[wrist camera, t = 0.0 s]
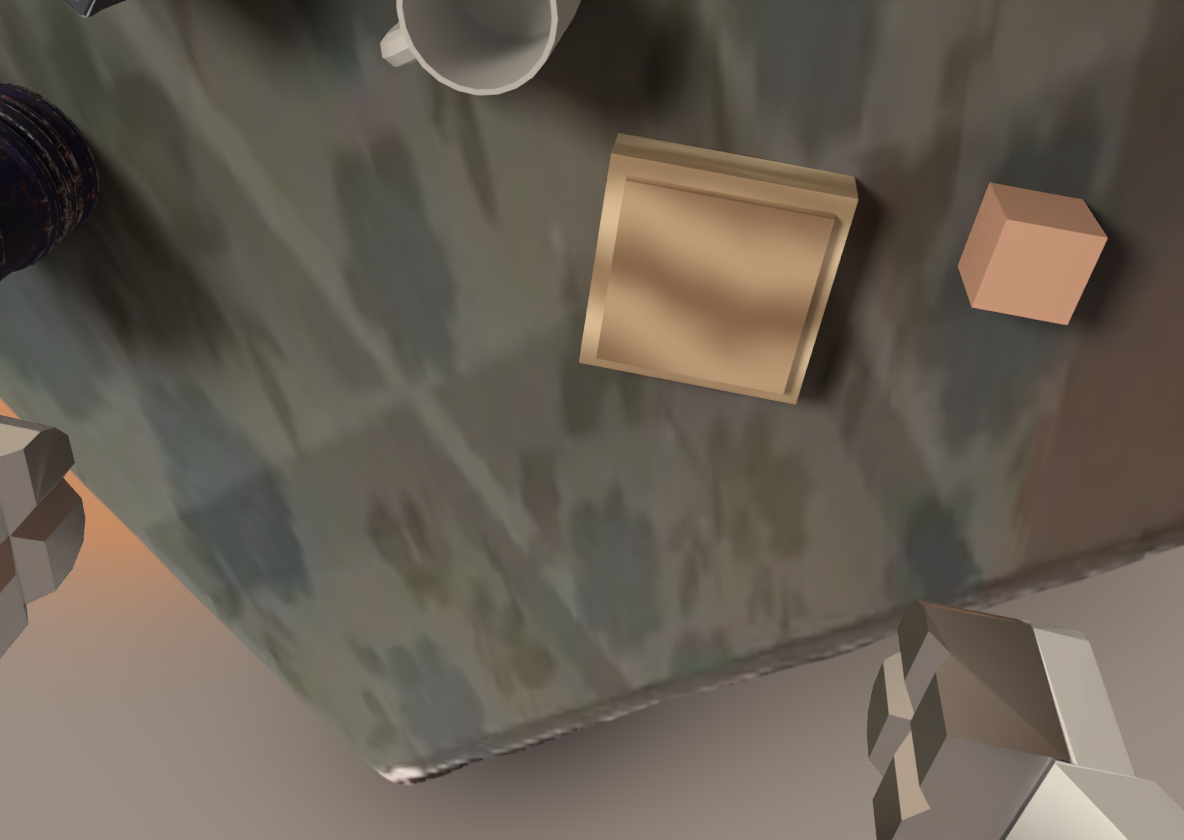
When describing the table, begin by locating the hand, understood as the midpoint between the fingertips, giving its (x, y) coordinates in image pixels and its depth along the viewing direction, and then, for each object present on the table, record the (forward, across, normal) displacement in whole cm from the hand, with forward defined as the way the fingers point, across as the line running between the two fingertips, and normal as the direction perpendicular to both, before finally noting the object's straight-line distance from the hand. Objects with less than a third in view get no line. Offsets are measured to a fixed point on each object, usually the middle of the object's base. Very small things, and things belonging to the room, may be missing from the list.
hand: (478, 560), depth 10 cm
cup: (+48, +10, +6) cm, 50 cm away
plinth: (+48, -4, +19) cm, 52 cm away
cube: (+48, -20, +14) cm, 54 cm away
